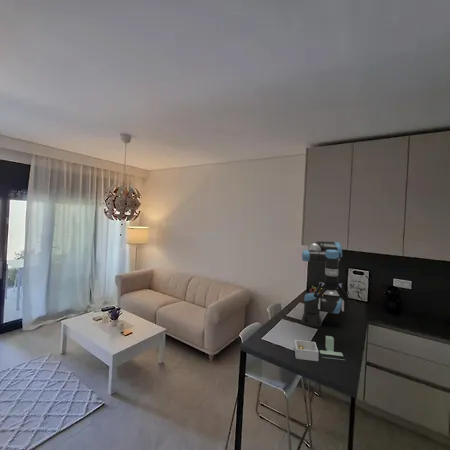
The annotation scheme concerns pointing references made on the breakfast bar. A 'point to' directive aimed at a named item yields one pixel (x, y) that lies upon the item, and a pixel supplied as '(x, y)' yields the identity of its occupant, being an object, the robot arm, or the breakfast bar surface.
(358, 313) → the breakfast bar surface
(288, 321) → the breakfast bar surface
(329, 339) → the green stepped block
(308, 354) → the tub
